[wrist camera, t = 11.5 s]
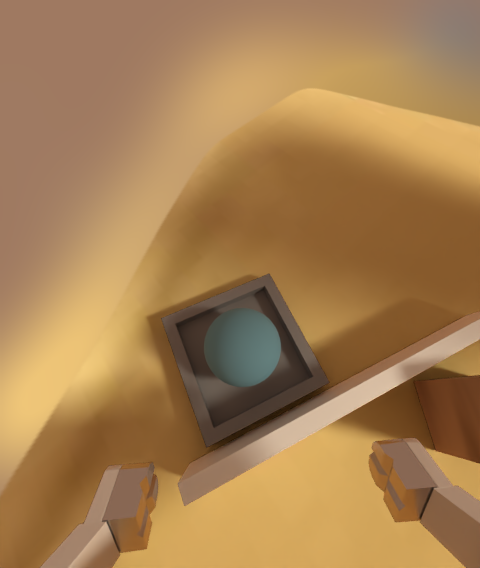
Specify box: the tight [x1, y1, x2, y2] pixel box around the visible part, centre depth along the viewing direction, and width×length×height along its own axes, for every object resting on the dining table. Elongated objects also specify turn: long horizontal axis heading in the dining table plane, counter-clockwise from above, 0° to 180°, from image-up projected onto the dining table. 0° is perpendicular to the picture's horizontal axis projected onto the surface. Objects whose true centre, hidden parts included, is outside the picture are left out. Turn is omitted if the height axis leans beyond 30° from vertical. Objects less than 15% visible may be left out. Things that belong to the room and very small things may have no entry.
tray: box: [161, 274, 329, 447], centre depth 19 cm, size 9×9×1 cm
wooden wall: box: [178, 311, 480, 506], centre depth 17 cm, size 24×1×4 cm, turn 115°
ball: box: [204, 308, 281, 387], centre depth 17 cm, size 5×5×5 cm
